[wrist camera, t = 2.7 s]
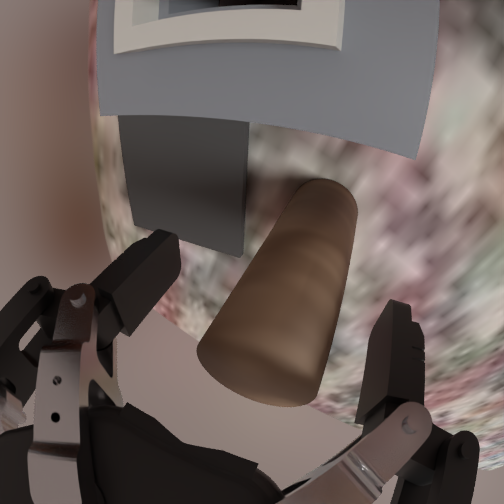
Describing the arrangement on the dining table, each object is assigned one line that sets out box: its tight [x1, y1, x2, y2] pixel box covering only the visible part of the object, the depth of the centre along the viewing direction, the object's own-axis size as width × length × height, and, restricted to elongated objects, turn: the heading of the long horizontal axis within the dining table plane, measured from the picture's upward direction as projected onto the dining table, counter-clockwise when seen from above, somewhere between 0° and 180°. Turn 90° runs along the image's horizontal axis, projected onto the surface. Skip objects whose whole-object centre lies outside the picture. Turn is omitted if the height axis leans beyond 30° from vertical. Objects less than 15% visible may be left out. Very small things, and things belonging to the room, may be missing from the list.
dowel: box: [197, 179, 358, 407], centre depth 11 cm, size 4×4×10 cm
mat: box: [118, 115, 249, 258], centre depth 17 cm, size 9×9×1 cm
